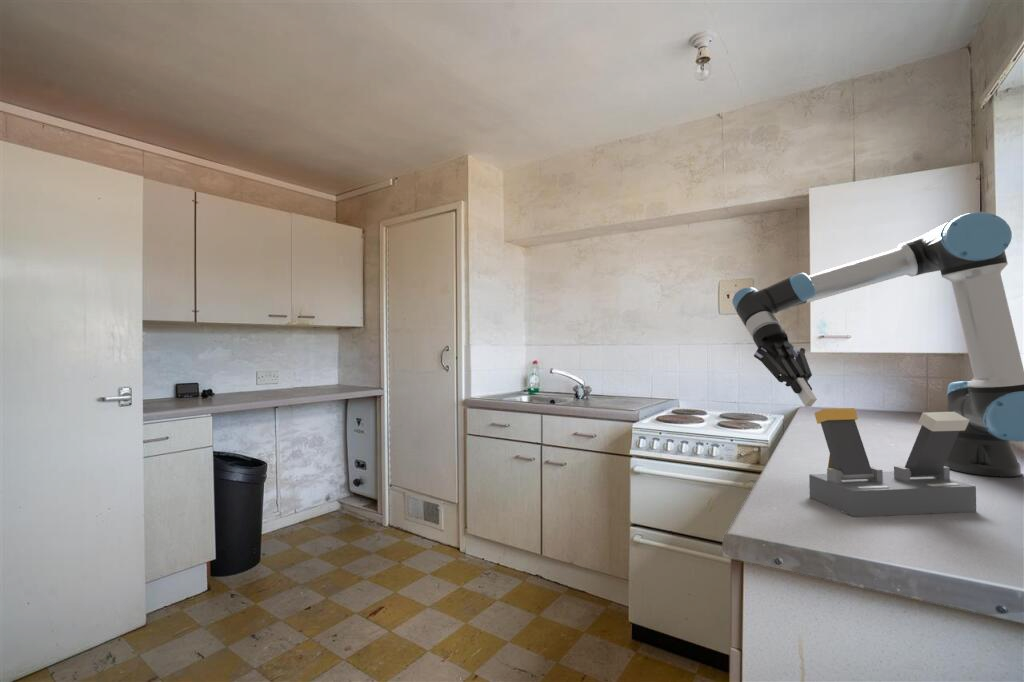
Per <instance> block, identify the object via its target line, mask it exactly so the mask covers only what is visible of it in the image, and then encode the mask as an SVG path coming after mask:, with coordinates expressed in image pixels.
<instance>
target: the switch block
mask: <svg viewBox="0 0 1024 682" xmlns="http://www.w3.org/2000/svg"><path fill="white" fill-rule="evenodd" d="M870 467H871V470H872V472H873V473H874V478H873V479H856V480H842V475H841V471H839V470H836V469H833V468H828V467H827V469H826V473H813V474H812V473H811V474H809V475H808V476H809V477H808V478H809V482H808V483H809V498H811V499H813V500H815V501H818V502H819V501H820V502H819V503H821V502H822V504H824V505H826V504H827V505H826V506H828V505H829V507H830V506H831V507H830V508H833V509H835V508H836V509H835V510H837V509H838V510H837V511H839V510H840V512H841V511H843V512H842V513H844V512H845V513H844V514H846V513H847V514H846V515H848V514H849V516H850V515H851V517H853V516H863V517H882V516H883V517H885V515H886V516H908V514H910V515H925V514H926V515H927V513H928V515H930V514H929V513H933V514H949V513H950V514H951V513H952V514H953V513H955V512H956V513H973V512H974V513H976V512H977V486H976V485H973V484H968V483H966V482H962V481H958V480H954V479H951V476H950V475H951V474H950V473H951V472H950V470H951V469H950V468H949V467H945V466H944V467H943V470H942V472H941V475H940V476H939V477H911V478H910V469H908V468H905V466H900V465H894V466H893V471H891V470H890V471H883V469H880V468H878V467H874V466H870Z"/></svg>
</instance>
